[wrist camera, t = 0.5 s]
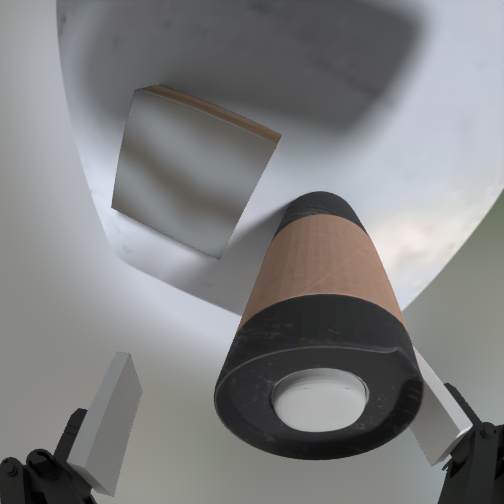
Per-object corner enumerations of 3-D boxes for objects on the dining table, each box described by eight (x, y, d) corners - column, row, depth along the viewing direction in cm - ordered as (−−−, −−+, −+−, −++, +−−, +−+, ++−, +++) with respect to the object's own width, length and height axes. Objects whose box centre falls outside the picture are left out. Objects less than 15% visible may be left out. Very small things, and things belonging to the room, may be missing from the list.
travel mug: (279, 262, 28) (221, 450, 10) (280, 186, 25) (192, 325, 7) (355, 267, 27) (386, 461, 9) (363, 190, 24) (464, 340, 6)
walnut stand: (158, 84, 21) (134, 90, 18) (281, 134, 22) (276, 147, 19) (131, 189, 28) (111, 207, 25) (229, 236, 30) (219, 260, 26)
